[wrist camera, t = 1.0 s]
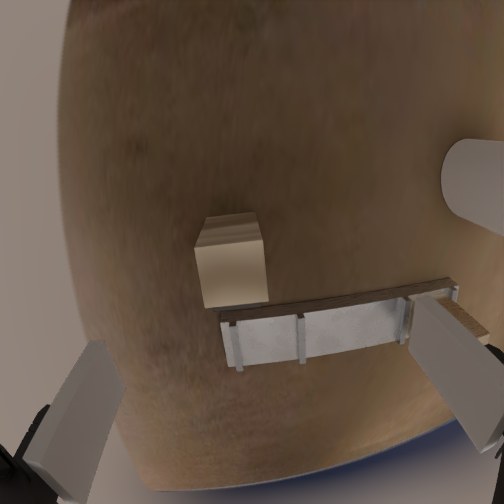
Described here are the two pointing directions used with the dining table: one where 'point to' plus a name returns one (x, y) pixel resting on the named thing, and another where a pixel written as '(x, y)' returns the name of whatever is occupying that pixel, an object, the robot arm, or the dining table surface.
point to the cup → (475, 182)
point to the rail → (333, 324)
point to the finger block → (231, 262)
